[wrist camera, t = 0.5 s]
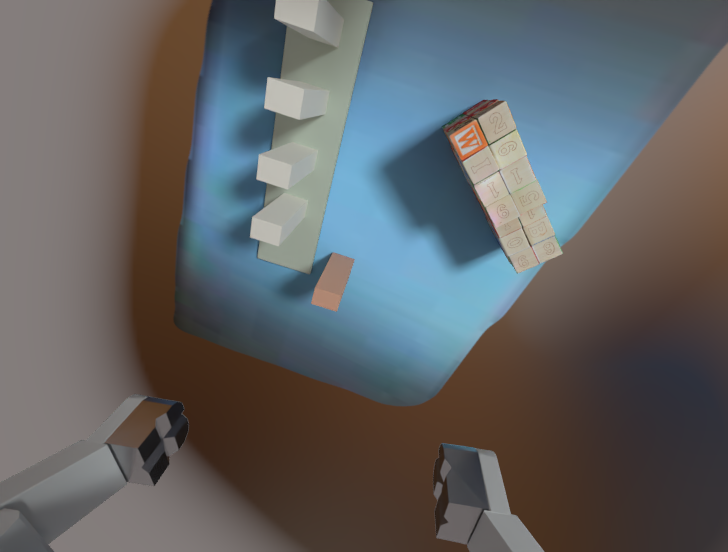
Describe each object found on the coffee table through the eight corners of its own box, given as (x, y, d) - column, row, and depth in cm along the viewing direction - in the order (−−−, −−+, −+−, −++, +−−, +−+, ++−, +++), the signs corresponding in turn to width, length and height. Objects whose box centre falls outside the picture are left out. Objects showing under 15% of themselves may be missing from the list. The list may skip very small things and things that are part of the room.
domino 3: (292, 141, 48) (259, 154, 38) (318, 150, 48) (291, 165, 38) (289, 161, 49) (256, 179, 39) (314, 170, 49) (287, 189, 39)
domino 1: (313, 9, 40) (278, -22, 29) (344, 19, 40) (320, -8, 30) (308, 38, 41) (274, 18, 31) (338, 47, 41) (313, 31, 31)
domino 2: (301, 81, 44) (267, 77, 33) (329, 90, 44) (304, 89, 34) (298, 105, 45) (264, 108, 35) (325, 114, 45) (299, 119, 35)
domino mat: (295, -24, 39) (293, -25, 39) (373, 3, 39) (372, 2, 39) (258, 256, 59) (257, 257, 59) (310, 272, 59) (309, 274, 59)
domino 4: (284, 192, 52) (252, 216, 42) (307, 200, 52) (281, 226, 42) (281, 209, 53) (250, 237, 43) (304, 217, 53) (278, 246, 43)
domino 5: (332, 252, 57) (315, 287, 46) (354, 259, 57) (341, 295, 46) (329, 266, 58) (311, 303, 48) (350, 273, 58) (336, 311, 48)
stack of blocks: (539, 229, 50) (573, 265, 39) (500, 247, 52) (522, 286, 42) (483, 98, 43) (506, 99, 32) (440, 126, 45) (448, 135, 34)
